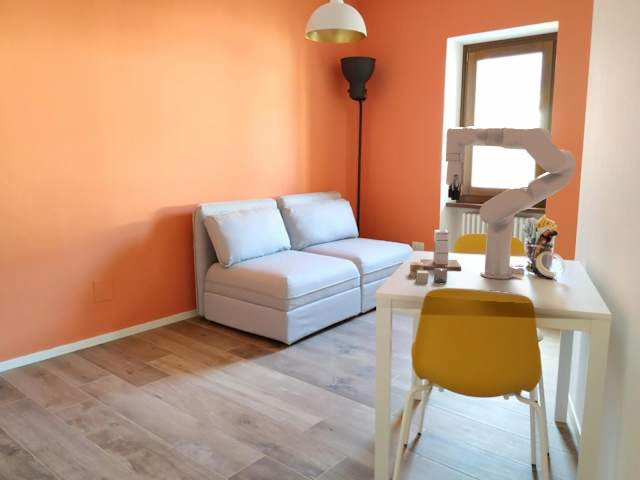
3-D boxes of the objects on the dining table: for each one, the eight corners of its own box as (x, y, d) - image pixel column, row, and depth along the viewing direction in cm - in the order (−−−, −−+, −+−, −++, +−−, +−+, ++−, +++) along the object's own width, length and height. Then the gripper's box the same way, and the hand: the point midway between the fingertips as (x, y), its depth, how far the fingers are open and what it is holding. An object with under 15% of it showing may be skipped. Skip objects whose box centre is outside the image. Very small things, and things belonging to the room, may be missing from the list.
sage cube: (426, 280, 206) (427, 270, 205) (427, 283, 202) (427, 273, 202) (416, 280, 207) (416, 270, 206) (417, 282, 203) (417, 272, 202)
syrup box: (448, 264, 226) (449, 231, 224) (434, 264, 227) (435, 231, 224) (445, 261, 232) (447, 229, 229) (432, 261, 232) (433, 229, 230)
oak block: (422, 274, 217) (422, 262, 216) (423, 277, 212) (423, 265, 211) (409, 273, 217) (410, 262, 216) (410, 276, 212) (410, 264, 211)
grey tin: (445, 280, 206) (446, 268, 205) (447, 283, 201) (448, 271, 200) (433, 280, 206) (433, 267, 206) (434, 283, 202) (434, 270, 201)
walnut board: (456, 263, 236) (456, 259, 235) (461, 270, 222) (461, 266, 222) (420, 262, 237) (420, 259, 237) (423, 269, 224) (423, 266, 224)
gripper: (443, 157, 226) (441, 196, 229) (448, 158, 209) (446, 201, 212) (461, 157, 225) (459, 197, 228) (467, 158, 208) (465, 201, 211)
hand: (453, 198), depth 220 cm, fingers open, 9 cm apart
